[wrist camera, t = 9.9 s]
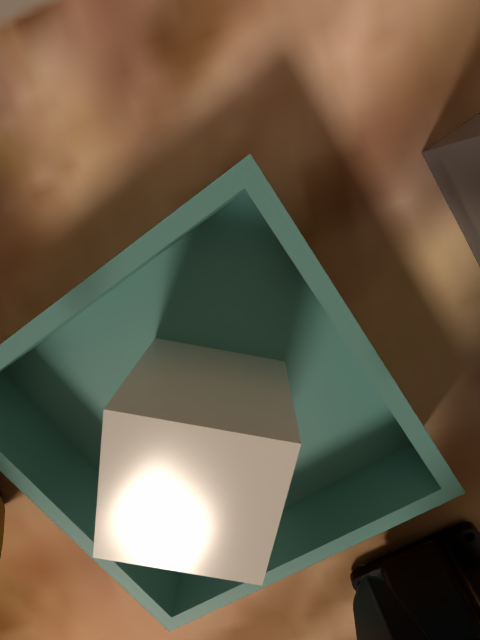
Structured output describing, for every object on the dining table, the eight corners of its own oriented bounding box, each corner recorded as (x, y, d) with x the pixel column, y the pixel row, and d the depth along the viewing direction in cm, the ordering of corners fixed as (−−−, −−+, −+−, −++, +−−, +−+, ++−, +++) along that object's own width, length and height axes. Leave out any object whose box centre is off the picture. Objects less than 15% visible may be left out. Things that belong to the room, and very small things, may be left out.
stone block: (284, 361, 14) (300, 443, 9) (259, 467, 15) (262, 585, 11) (155, 337, 14) (103, 409, 9) (142, 447, 15) (93, 557, 11)
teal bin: (421, 431, 16) (466, 493, 12) (184, 554, 18) (169, 631, 15) (251, 166, 13) (250, 153, 9) (-4, 357, 15) (-74, 400, 12)
